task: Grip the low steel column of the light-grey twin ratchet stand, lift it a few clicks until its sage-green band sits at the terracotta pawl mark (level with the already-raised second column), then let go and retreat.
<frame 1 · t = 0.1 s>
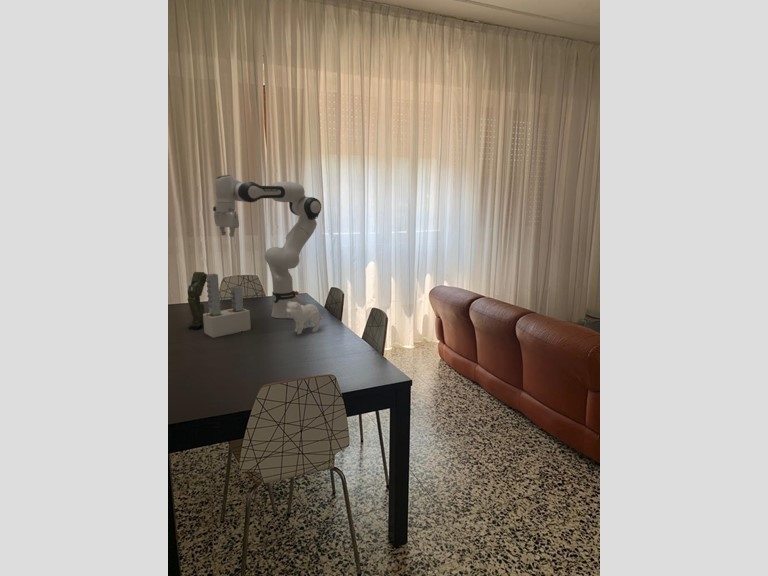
hand: (227, 235, 225), 48 cm above the table, fingers open, 8 cm apart
white animal figurine: (305, 331, 228), on the table
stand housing: (227, 331, 226), on the table
mechanical leg: (200, 326, 234), on the table
column 2: (237, 308, 227), point 11 cm above the table, slide at 0.0 cm
column 1: (213, 296, 217), point 19 cm above the table, slide at 8.0 cm
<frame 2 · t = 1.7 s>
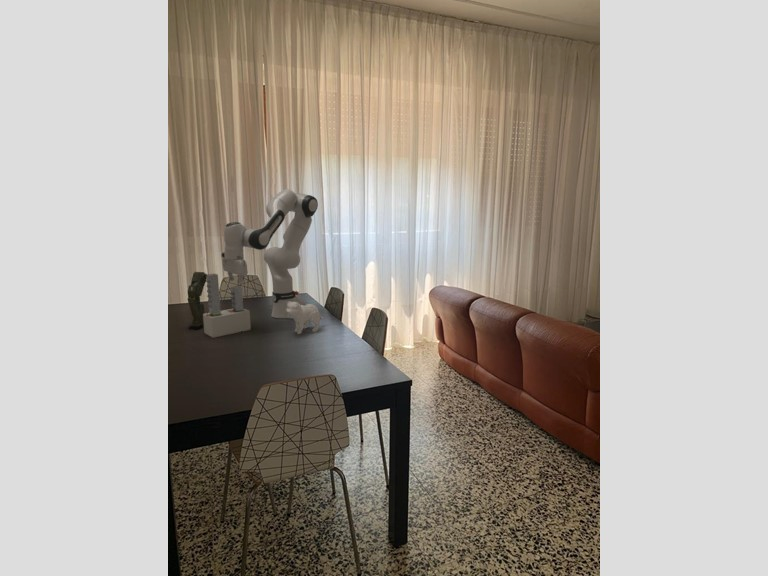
hand: (235, 282, 225), 25 cm above the table, fingers open, 8 cm apart
nothing on the table moved.
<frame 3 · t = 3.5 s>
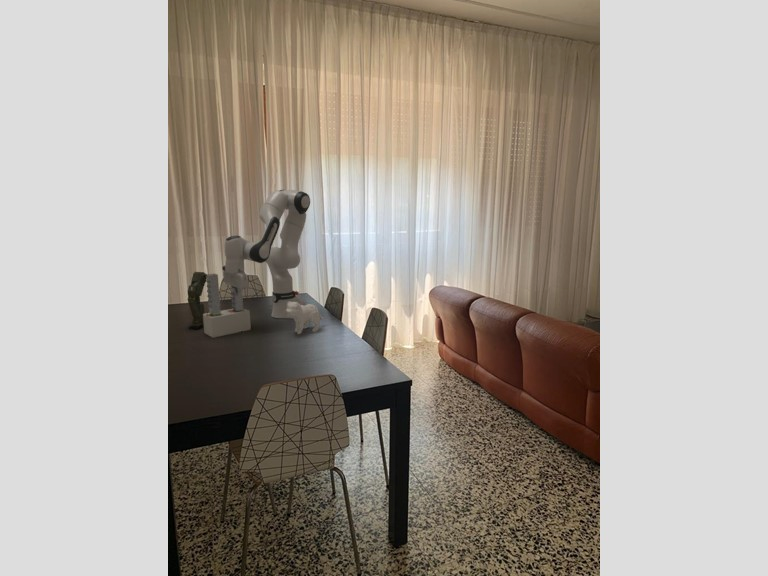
hand: (236, 295, 226), 18 cm above the table, fingers closed on column 2, 4 cm apart
column 2: (237, 308, 227), point 11 cm above the table, slide at 0.0 cm, touching gripper
everything else where it was.
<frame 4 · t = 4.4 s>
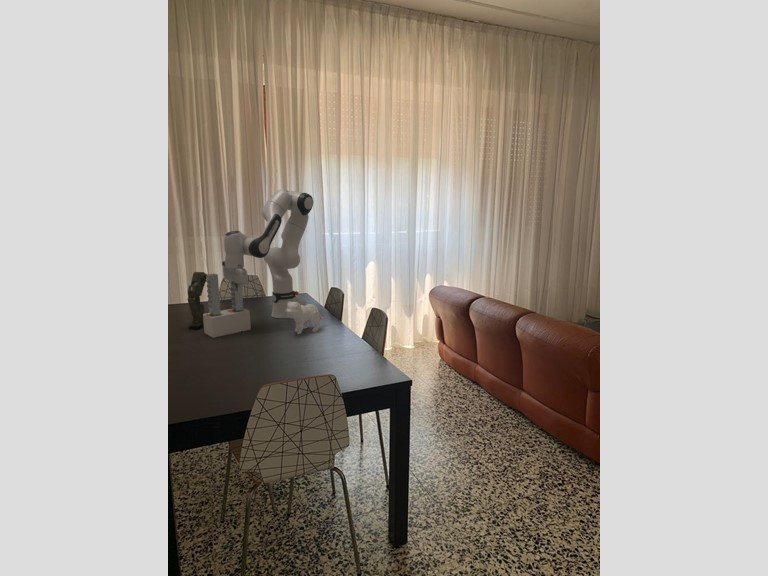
hand: (236, 290, 226), 21 cm above the table, fingers closed on column 2, 4 cm apart
column 2: (237, 303, 227), point 13 cm above the table, slide at 2.2 cm, touching gripper
everything else where it was.
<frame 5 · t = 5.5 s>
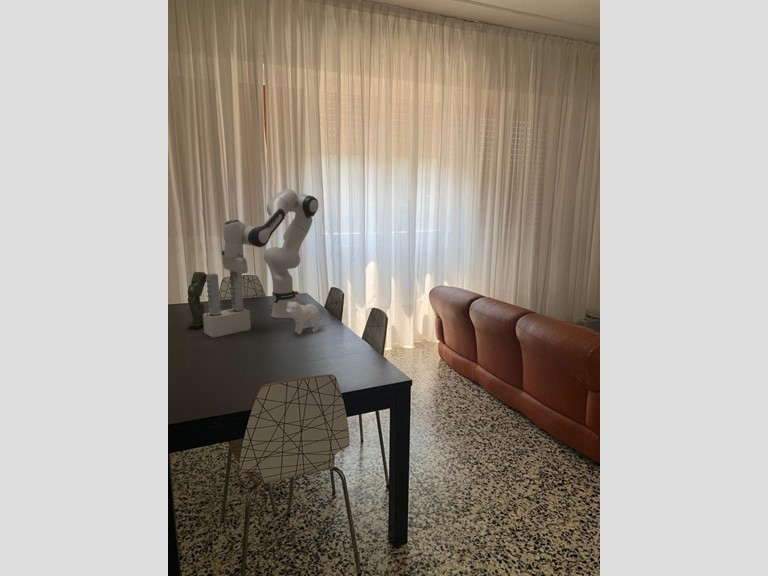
hand: (236, 279, 224), 26 cm above the table, fingers closed on column 2, 4 cm apart
column 2: (236, 293, 226), point 19 cm above the table, slide at 7.7 cm, touching gripper
everything else where it was.
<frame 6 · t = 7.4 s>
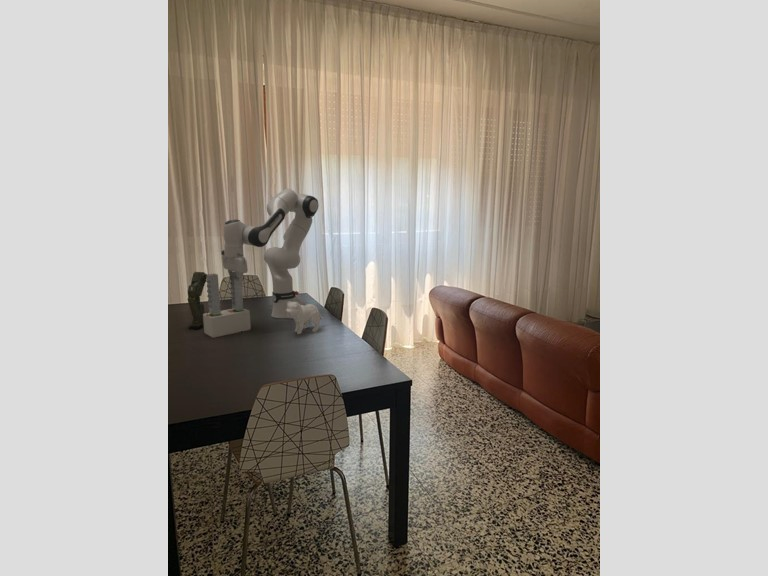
hand: (236, 279, 224), 26 cm above the table, fingers open, 8 cm apart
column 2: (236, 293, 226), point 19 cm above the table, slide at 7.7 cm
everything else where it was.
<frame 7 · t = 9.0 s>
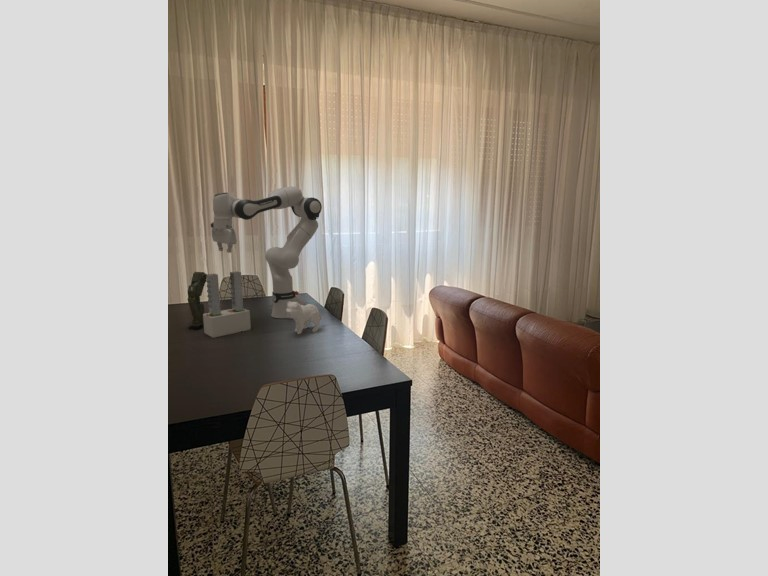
hand: (225, 251, 230), 39 cm above the table, fingers open, 8 cm apart
nothing on the table moved.
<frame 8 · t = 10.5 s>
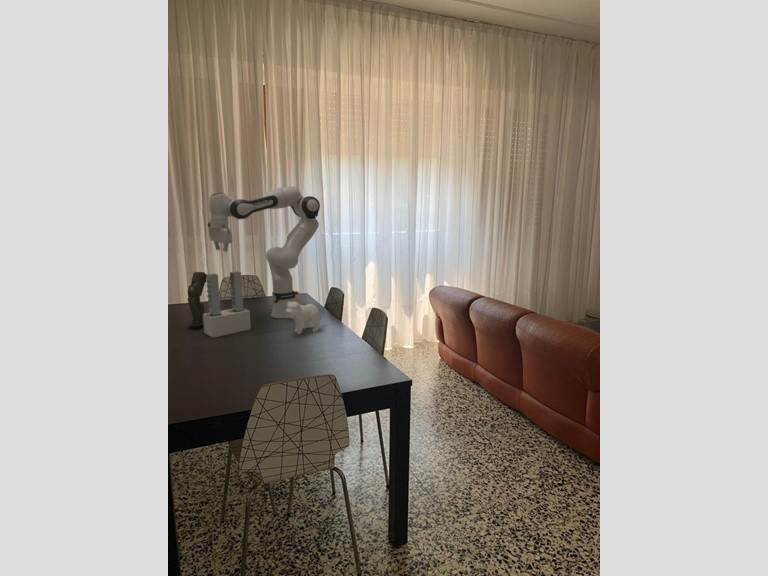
hand: (221, 250, 234), 39 cm above the table, fingers open, 8 cm apart
nothing on the table moved.
at the end: column 2 slide at 7.7 cm; the gripper is holding nothing; column 1 slide at 8.0 cm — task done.
